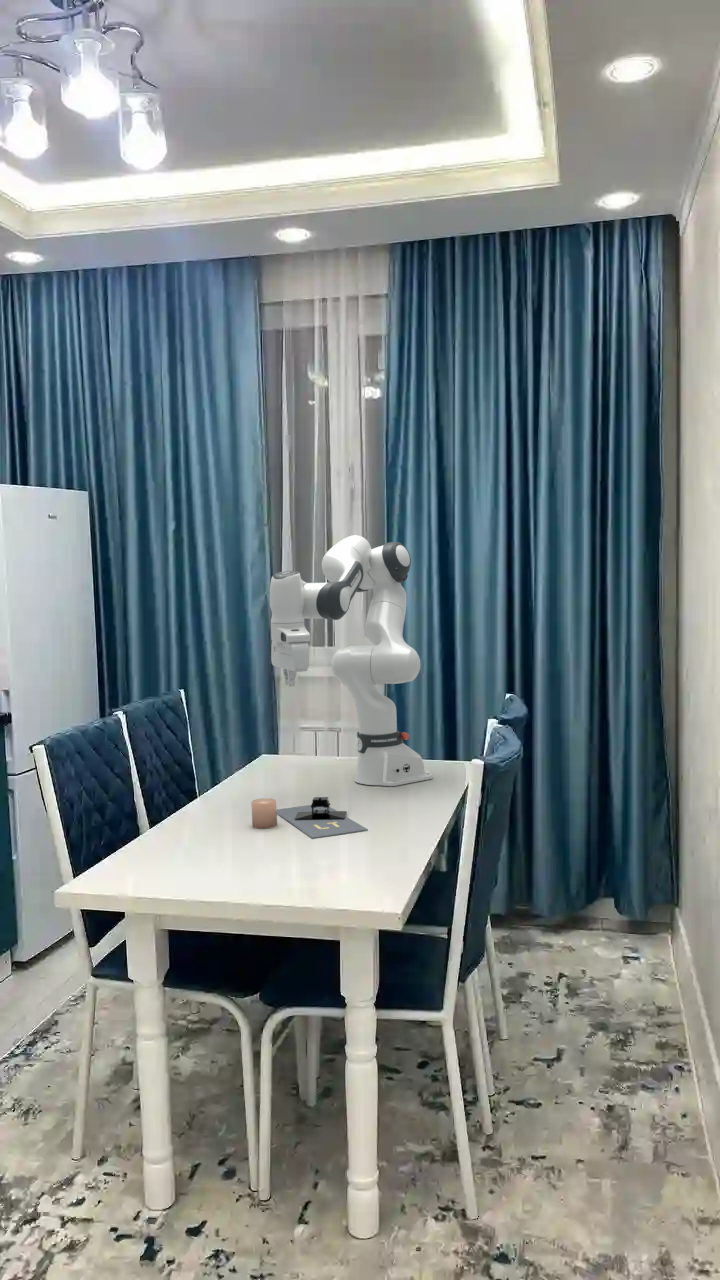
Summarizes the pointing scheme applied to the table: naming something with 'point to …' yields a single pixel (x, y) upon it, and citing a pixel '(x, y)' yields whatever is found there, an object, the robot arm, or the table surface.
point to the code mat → (319, 823)
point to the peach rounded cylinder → (264, 813)
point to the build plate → (321, 811)
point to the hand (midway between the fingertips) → (290, 685)
